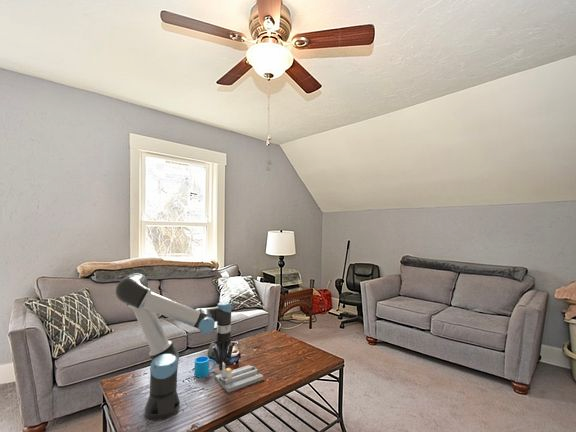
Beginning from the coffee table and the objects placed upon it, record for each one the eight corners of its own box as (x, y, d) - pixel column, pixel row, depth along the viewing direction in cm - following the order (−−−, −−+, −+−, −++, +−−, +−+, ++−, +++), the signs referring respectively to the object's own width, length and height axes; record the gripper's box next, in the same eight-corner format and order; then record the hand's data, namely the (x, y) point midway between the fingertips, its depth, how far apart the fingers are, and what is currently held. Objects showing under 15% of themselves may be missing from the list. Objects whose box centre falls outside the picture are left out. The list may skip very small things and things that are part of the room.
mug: (195, 378, 163) (196, 363, 163) (193, 371, 170) (193, 357, 171) (216, 373, 169) (217, 359, 169) (213, 367, 176) (213, 354, 176)
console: (227, 392, 150) (228, 385, 150) (215, 379, 163) (215, 372, 163) (263, 379, 164) (263, 373, 164) (249, 368, 176) (249, 362, 177)
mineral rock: (229, 360, 186) (229, 344, 186) (212, 364, 180) (213, 348, 180) (221, 352, 197) (221, 337, 197) (205, 356, 190) (206, 341, 191)
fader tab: (227, 381, 157) (227, 371, 157) (224, 378, 160) (225, 368, 160) (231, 379, 159) (231, 369, 159) (228, 377, 161) (229, 367, 161)
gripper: (215, 336, 151) (214, 382, 150) (237, 331, 159) (236, 374, 158) (209, 332, 157) (208, 376, 156) (231, 327, 165) (230, 369, 164)
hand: (222, 375), depth 157 cm, fingers closed
